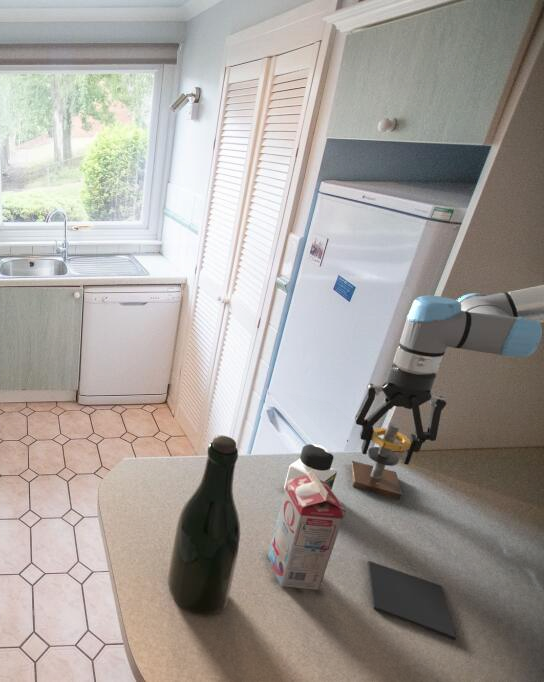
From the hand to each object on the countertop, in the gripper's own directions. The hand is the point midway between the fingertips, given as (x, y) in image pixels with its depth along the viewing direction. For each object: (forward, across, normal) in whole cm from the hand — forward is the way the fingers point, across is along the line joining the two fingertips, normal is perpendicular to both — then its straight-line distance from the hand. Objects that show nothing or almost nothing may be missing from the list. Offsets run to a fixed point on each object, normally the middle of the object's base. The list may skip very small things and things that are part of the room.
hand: (384, 455), depth 106 cm
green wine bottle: (+8, -31, -51) cm, 60 cm away
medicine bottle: (+8, -14, -12) cm, 20 cm away
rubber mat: (+8, +2, -34) cm, 35 cm away
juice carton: (+8, -16, -38) cm, 42 cm away
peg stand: (+8, 0, 0) cm, 8 cm away
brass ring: (-4, 0, 0) cm, 4 cm away
